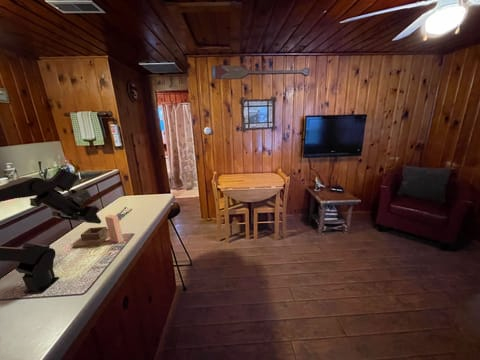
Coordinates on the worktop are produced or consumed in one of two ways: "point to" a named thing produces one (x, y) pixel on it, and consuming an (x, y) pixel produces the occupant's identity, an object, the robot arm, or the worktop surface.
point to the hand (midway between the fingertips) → (92, 221)
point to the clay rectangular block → (114, 228)
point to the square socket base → (92, 237)
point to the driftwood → (121, 214)
